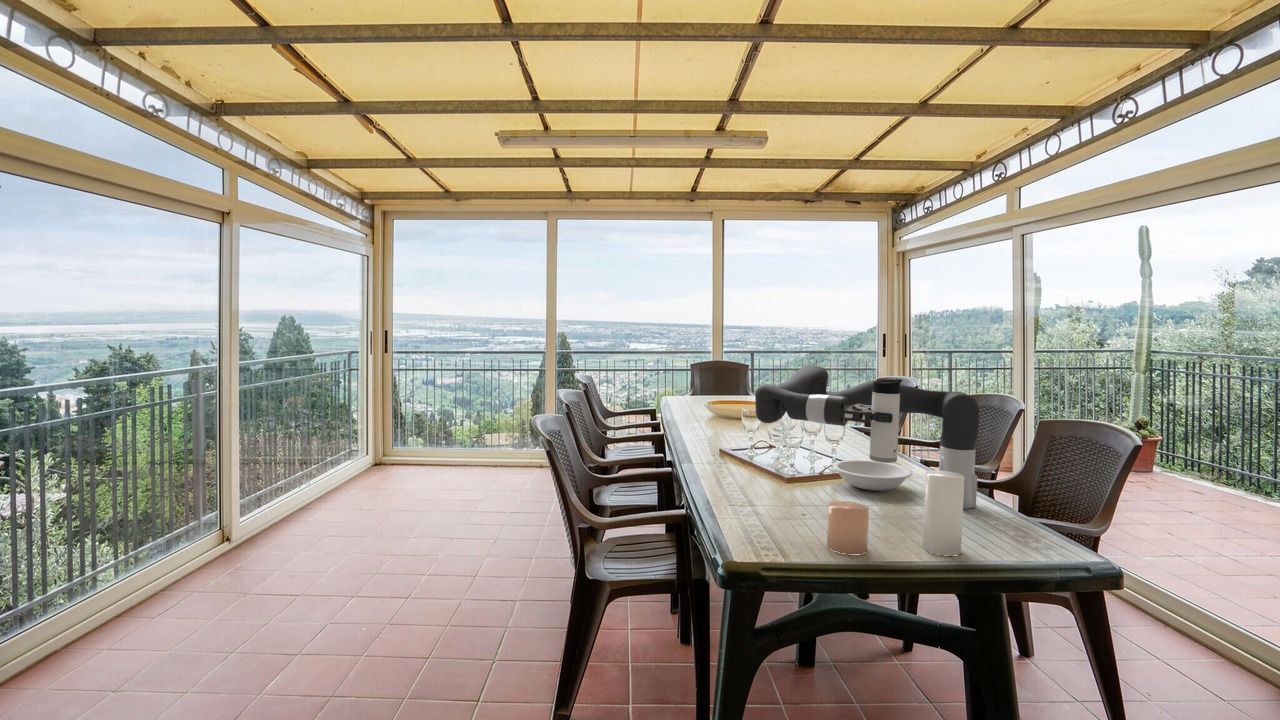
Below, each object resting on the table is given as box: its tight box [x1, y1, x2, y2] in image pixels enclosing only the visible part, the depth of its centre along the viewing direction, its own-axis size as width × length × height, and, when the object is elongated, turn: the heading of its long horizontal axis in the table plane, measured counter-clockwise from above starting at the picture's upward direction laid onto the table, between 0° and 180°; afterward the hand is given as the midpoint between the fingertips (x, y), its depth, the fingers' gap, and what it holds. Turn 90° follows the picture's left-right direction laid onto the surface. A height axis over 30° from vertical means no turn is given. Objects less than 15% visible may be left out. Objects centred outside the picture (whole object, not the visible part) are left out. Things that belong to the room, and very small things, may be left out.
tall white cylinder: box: [922, 469, 964, 556], centre depth 138 cm, size 8×8×18 cm
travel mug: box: [869, 378, 903, 464], centre depth 144 cm, size 6×7×20 cm
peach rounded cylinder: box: [826, 500, 870, 554], centre depth 138 cm, size 9×9×10 cm
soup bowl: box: [832, 459, 913, 491], centre depth 191 cm, size 24×24×7 cm
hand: (895, 416), depth 142 cm, fingers closed on travel mug, 6 cm apart
